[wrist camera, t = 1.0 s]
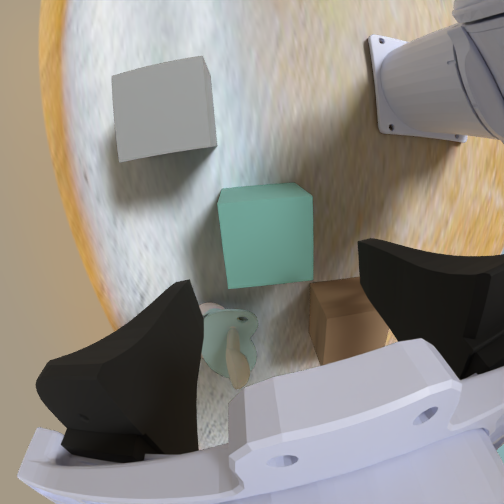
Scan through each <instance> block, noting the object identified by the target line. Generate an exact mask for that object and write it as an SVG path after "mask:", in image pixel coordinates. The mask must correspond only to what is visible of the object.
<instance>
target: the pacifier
mask: <svg viewBox="0 0 504 504" xmlns="http://www.w3.org/2000/svg"><path fill="white" fill-rule="evenodd" d="M199 307H200V310H201V312H202V315H203V316H204V315H206V314H208V315H207V316H206V317H205V318H204V340H203V347H202V353H201V358H203V359H205V361H206V363H207V364H208V366H209V367H210V368H211V369H212V370H213V371H215V372H216V373H218V374H220V375H221V376H224V377H226V378H230V380H231V383H232V385H233V387H234V388H235V389H240V388H242V387H243V386H245V385H246V383H247V382H248V380H249V376H250V371H252V369H253V367H254V366H255V363H256V358H257V355H256V349H255V346H254V344H253V342H252V341H251V340H250V337H251V336H252V335H253V334H254V332H255V331H256V329H257V328H258V320H257V317H256V316H255V315H254V314H253V313H252V312H250V311H247V310H242V309H225V308H224V307H222V306H220V305H218V304H216V303H211V302H208V303H202V304H201V305H199ZM238 317H246V318H247V320H245V321H241V320H240V319H239V318H238ZM244 355H245V356H246V357H247V359H246V358H245V356H244Z"/></svg>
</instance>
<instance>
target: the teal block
mask: <svg viewBox="0 0 504 504" xmlns="http://www.w3.org/2000/svg"><path fill="white" fill-rule="evenodd" d="M217 206H218V214H219V222H220V230H221V238H222V246H223V254H224V261H225V269H226V276H227V283H228V289H234V288H245V287H255V286H265V285H274V284H284V283H293V282H301V281H310V280H313V196H312V195H311V194H309V193H308V192H307V191H305V190H304V189H303V188H301V187H300V186H298V185H297V184H296V183H280V184H267V185H255V186H244V187H234V188H225V189H222V190H221V194H220V197H219V200H218V203H217Z"/></svg>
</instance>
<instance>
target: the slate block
mask: <svg viewBox="0 0 504 504" xmlns="http://www.w3.org/2000/svg"><path fill="white" fill-rule="evenodd" d="M112 97H113V111H114V122H115V132H116V142H117V150H118V158H119V163H120V162H125V161H130V160H135V159H139V158H145V157H150V156H155V155H161V154H167V153H173V152H179V151H185V150H192V149H199V148H207V147H213V146H217V137H216V127H215V117H214V106H213V95H212V84H211V75H210V73H209V70H208V68H207V65H206V63H205V61H204V58H203V56H197V57H191V58H185V59H179V60H174V61H169V62H164V63H159V64H155V65H151V66H146V67H142V68H138V69H135V70H131V71H127V72H124V73H120V74H117V75H114V76H112Z"/></svg>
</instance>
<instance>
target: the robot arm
mask: <svg viewBox="0 0 504 504" xmlns="http://www.w3.org/2000/svg"><path fill="white" fill-rule="evenodd" d="M453 8H454V10H453V11H452V15H453V16H454V18H455V19H456V20H457V22H458V23H457V24H454V25H451V26H448V27H446V28H443V29H440V30H438V31H435V32H432V33H430V34H427V35H425V36H422V37H420V38H418V39H415V40H413V41H411V42H406V41H402V40H398V39H394V38H390V37H385V36H380V35H375V34H372V35H371V36H369V38H368V42H369V48H370V54H371V60H372V68H373V75H374V84H375V93H376V104H377V117H378V128H379V130H380V132H381V133H384V134H396V135H408V136H418V137H427V138H435V139H442V140H449V141H456V142H462V143H465V142H466V141H467V135H468V136H476V137H484V138H491V139H498V140H501V141H502V142H503V144H504V0H455V1H454V7H453ZM379 40H381V41H382V44H381V43H380V42H379ZM389 125H391V126H392V130H390V129H389ZM455 134H456V138H455ZM358 254H359V272H360V284H361V286H362V288H363V290H364V292H365V294H366V296H367V298H368V299H369V301H370V302H371V304H372V305H373V307H374V308H375V309H376V311H377V312H378V313H379V315H380V316H381V317H382V319H383V320H384V322H385V323H386V324H387V326H388V327H389V328H390V330H391V331H392V333H393V334H394V336H395V337H396V339H397V340H398V342H396V343H393V344H390V345H387V346H384V347H381V348H378V349H375V350H372V351H369V352H366V353H363V354H360V355H357V356H353V357H350V358H347V359H343V360H340V361H336V362H333V363H329V364H325V365H321V366H318V367H314V368H310V369H306V370H301V371H297V372H293V373H288V374H284V375H279V376H274V377H271V378H268V379H266V380H263V381H261V382H258V383H255V384H252V385H250V386H247V387H245V388H243V389H242V390H241V391H240V392H239V393H238V394H237V395H236V396H235V397H234V398H233V399H232V400H231V401H230V402H229V423H228V429H229V443H226V444H222V445H219V446H215V447H211V448H207V449H203V450H199V449H198V435H197V411H196V398H197V379H198V372H199V366H200V360H201V353H202V347H203V340H204V318H203V315H202V312H201V310H200V307H199V304H198V302H197V299H196V296H195V293H194V291H193V288H192V285H191V282H190V279H189V280H184V281H180V282H176V283H174V284H173V285H171V286H170V287H169V288H168V289H167V290H165V291H164V292H163V293H162V294H161V295H160V296H159V297H158V298H157V299H156V300H154V301H153V302H152V303H151V304H150V305H149V306H148V307H147V308H145V309H144V310H143V311H142V312H141V313H139V314H138V315H137V316H136V317H135V318H133V319H132V320H131V321H130V322H128V323H127V324H125V325H124V326H123V327H121V328H120V329H118V330H117V331H115V332H113V333H112V334H110V335H109V336H107V337H105V338H103V339H101V340H100V341H98V342H96V343H94V344H92V345H90V346H88V347H86V348H83V349H81V350H79V351H77V352H74V353H71V354H68V355H65V356H62V357H59V358H57V359H53V360H50V361H49V362H48V363H47V364H46V366H45V367H44V369H43V370H42V372H41V374H40V375H39V377H38V379H37V381H36V389H37V392H38V394H39V396H40V398H41V400H42V401H43V403H44V404H45V405H46V406H47V407H48V409H49V410H50V411H51V412H52V413H53V414H54V415H55V416H56V417H57V418H58V420H59V421H61V422H62V424H63V425H64V426H65V427H66V428H67V430H66V433H65V435H63V434H62V433H60V432H58V431H55V430H50V429H45V428H41V427H38V428H37V429H36V431H35V434H34V436H33V438H32V440H31V442H30V445H29V447H28V449H27V452H26V454H25V456H24V459H23V461H22V464H21V466H20V469H19V471H18V474H17V477H18V479H20V480H21V481H22V482H24V483H25V484H27V485H28V486H29V487H31V488H32V489H34V490H35V491H37V492H38V493H40V494H41V495H43V496H44V497H46V498H48V499H49V500H51V501H53V502H54V503H56V504H504V464H503V462H502V460H501V458H500V456H499V455H498V453H497V451H496V450H497V449H498V448H499V447H501V446H502V445H503V444H504V254H502V255H495V256H453V255H444V254H437V253H431V252H426V251H422V250H417V249H413V248H409V247H405V246H402V245H398V244H394V243H391V242H387V241H383V240H379V239H372V238H370V239H366V240H362V241H358Z"/></svg>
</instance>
